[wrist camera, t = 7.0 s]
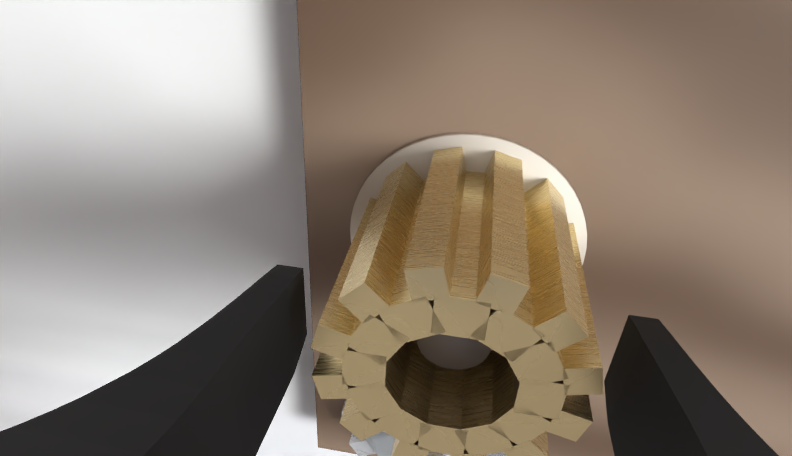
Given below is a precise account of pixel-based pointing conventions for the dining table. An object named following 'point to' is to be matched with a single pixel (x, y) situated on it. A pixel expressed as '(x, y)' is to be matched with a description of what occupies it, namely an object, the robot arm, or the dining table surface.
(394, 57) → the gear board
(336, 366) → the brass gear
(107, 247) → the dining table surface
